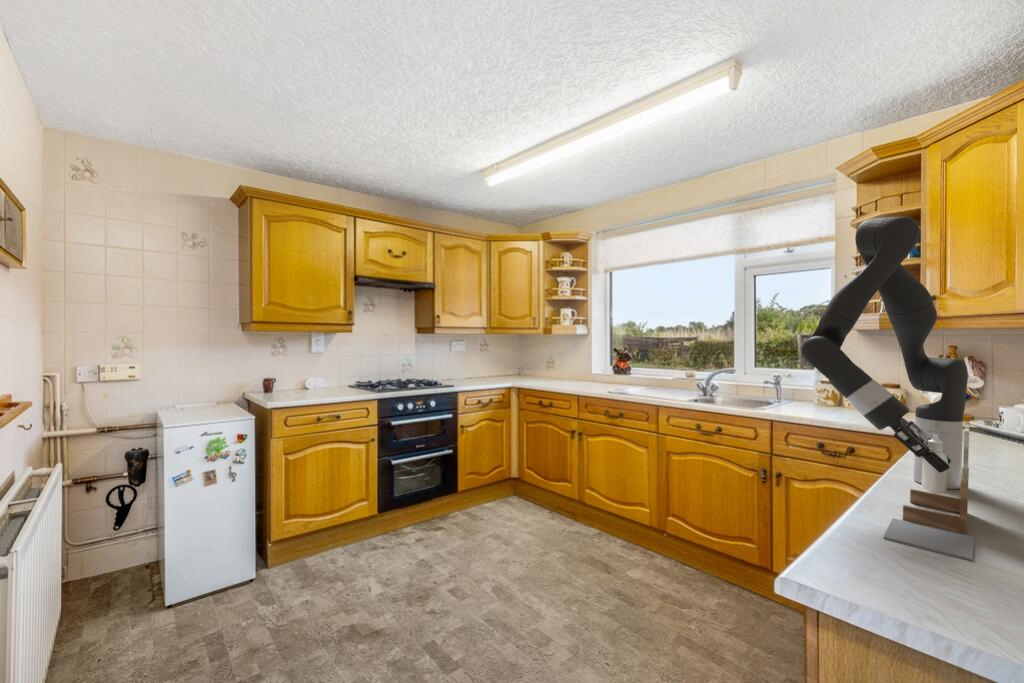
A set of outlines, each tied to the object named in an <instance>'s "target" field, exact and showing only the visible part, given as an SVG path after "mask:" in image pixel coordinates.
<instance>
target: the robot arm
mask: <svg viewBox="0 0 1024 683" xmlns="http://www.w3.org/2000/svg"><path fill="white" fill-rule="evenodd" d="M920 234H921V229H920V224H919V223H918V221H917V220H916V219H914V218H913V217H910V216H889V217H888V216H887V217H876V218H875V217H874V218H869V219H866V220H864V221H863V222H861V223H860V224H859V226H858V227H857V229H856V231H855V239H854V240H855V245H856V249H857V251H858V253H859V255H860V257H861V259H862V260H863V262H864V264H865V268H863V269H862V270H861V272H859V273H858V274H857V275H856V276H855V277H853V278H852V279H851V280H850V281H847V283H845V284H844V285H843V286H842V287H841V288H840V289H839V290H838V291H837V292H836V293H835V294H834V295H833V296H832V298H831V300H829V303H828V304H827V306H826V307H825V310H824V311H823V313H822V315H821V316H820V319H819V322H818V326H816V328H815V330H814V332H813V333H812V335H811V336H810V337H809V338H808V339H806V340H805V341H803V344H802V345H801V356H802V359H803V361H804V362H805V364H807V365H808V366H810V367H812V368H815V369H816V370H817V371H818V372H819V373H821V374H822V375H823V376H824V377H825V378H826V379H827V380H828V381H829V383H830V384H831V386H832V387H834V389H835V390H836V391H837V392H839V393H840V395H842V396H843V397H844V398H845V399H846V400H847V402H849V403H850V405H851V406H852V407H853V408H854V409H855V410H856V411H857V412H858V413H860V415H862V417H863V418H865V419H866V420H867V421H868V422H869V423H870V424H872V425H873V426H874V427H875V428H876V429H877V430H879V431H882V430H884V429H886V428H888V427H889V428H890V429H891V430H892V431H893V432H894V433H893V437H894V438H895V439H896V440H898V441H899V442H900V443H901V444H902V445H904V446H905V447H906V448H907V449H908V450H910V452H912V454H914V458H913V460H914V461H913V462H914V463H913V481H915V482H917V483H918V484H921V485H922V464H923V458H924V457H925V458H924V459H925V460H926V461H927V462H928V463H929V464H930V465H932V466H933V467H934V468H935V469H936V470H937V471H938V472H944V471H945V470H947V469H948V475H947V490H948V489H949V490H960V488H961V475H962V467H963V444H964V431H963V430H964V413H965V408H966V398H967V388H968V381H969V380H968V378H969V372H968V367H967V365H966V363H965V362H964V361H963V360H962V359H960V358H951V357H947V358H946V357H929V356H928V355H927V354H926V351H925V349H924V345H925V342H926V340H927V338H928V336H929V335H930V333H931V331H932V330H933V329H934V327H935V325H936V322H937V319H938V313H937V309H936V306H935V302H934V301H933V298H932V295H931V293H930V291H929V290H928V289H927V288H926V287H925V285H924V284H923V283H921V282H920V280H918V278H916V277H915V276H914V275H912V273H910V272H909V271H908V270H907V269H906V268H905V267H904V266H903V264H902V263H903V261H905V259H906V258H907V257H908V256H909V254H910V253H912V251H913V250H914V248H915V247H916V245H917V243H918V241H919V239H920ZM877 292H878V293H879V295H880V298H881V300H882V303H883V306H884V309H885V312H886V315H887V317H888V320H889V322H890V324H891V327H892V329H893V331H894V334H895V337H896V338H897V341H898V345H899V348H900V350H901V355H902V359H903V363H904V368H905V370H906V374H907V378H908V380H909V383H910V385H911V386H912V387H913V389H915V390H918V391H921V392H926V393H939V394H941V397H940V399H939V400H937V401H935V402H932V403H926V404H922V405H917V406H916V407H915V418H914V419H915V420H914V421H913V420H909V421H908V420H907V419H905V418H903V417H905V416H906V415H907V414H908V413H909V412H910V409H909V408H908V406H906V405H905V404H904V403H903V402H901V400H899V399H898V398H897V397H896V396H895V395H894V394H893V393H891V391H889V390H888V389H887V388H885V387H884V386H883V385H882V384H881V383H879V382H877V381H876V380H875V379H873V378H872V377H871V376H870V375H869V374H868V373H866V372H865V371H864V370H863V369H862V368H861V367H859V366H858V365H857V364H855V363H854V362H853V361H852V360H851V359H850V357H849V356H848V355H847V354H846V353H845V352H844V351H843V350H842V349H841V348H842V346H843V344H844V342H845V340H846V337H847V336H848V335H849V333H850V332H851V330H852V329H853V328H854V326H855V325H856V324H857V321H859V318H860V317H861V316H862V314H863V312H864V310H865V308H866V307H867V305H868V304H869V303H870V301H871V300H872V298H873V297H874V296H875V294H876V293H877ZM933 435H938V438H939V440H940V441H942V442H943V453H944V454H945V455H946V457H947V459H948V464H947V463H946V462H945V461H944V460H943V459H941V458H940V457H939V456H938V455H937V454H936V453H935V452H934V451H933V449H931V448H930V447H929V446H928V440H931V439H932V438H933Z"/></svg>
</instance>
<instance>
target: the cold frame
mask: <svg viewBox="0 0 1024 683" xmlns="http://www.w3.org/2000/svg"><path fill="white" fill-rule="evenodd" d="M963 430H964V431H963V458H962V474H961V488H959V490H960V491H959V492H960V493H959V494H960V495H959V496H960V497H957V496H952V495H947V494H937V493H932V492H930V491H925V490H919V489H913V488H910V492H909V493H910V494H909V495H910V496H909V502H911V503H910V504H915V505H919V504H920V506H924V505H926V507H929V506H931V507H930V508H934V507H936V508H935V509H939V508H941V509H940V510H944V509H945V511H949V510H950V512H954V511H955V512H954V513H959V512H960V513H959V515H953V514H950V513H946V512H945V513H944V512H941V511H936V510H931V509H926V508H921V507H916V506H912V505H907V504H903V506H902V520H903V521H908V522H912V523H917V524H921V525H925V526H930V527H934V528H939V529H943V530H947V531H948V530H949V531H952V532H956V533H957V532H958V533H961V534H965V535H967V529H968V525H967V524H968V510H969V509H968V505H969V475H970V473H969V472H970V471H969V470H970V468H969V452H970V451H969V448H970V421H965V424H964V429H963Z"/></svg>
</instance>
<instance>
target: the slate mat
mask: <svg viewBox="0 0 1024 683" xmlns="http://www.w3.org/2000/svg"><path fill="white" fill-rule="evenodd" d="M883 539H884V540H888V541H892V542H896V543H899V544H904V545H907V546H910V547H915V548H919V549H924V550H927V551H931V552H936V553H939V554H943V555H947V556H952V557H954V558H955V557H956V558H958V559H963V560H966V561H969V562H970V561H971V562H974V542H975V541H974V536H973V535H970V534H962V533H957V532H953V531H948V530H944V529H940V528H935V527H931V526H926V525H922V524H918V523H913V522H909V521H904V520H903V519H899V518H894V517H892V519H891V521H890V523H889V525H888V528H886V531H885V533H884V535H883Z"/></svg>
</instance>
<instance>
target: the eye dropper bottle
mask: <svg viewBox="0 0 1024 683" xmlns="http://www.w3.org/2000/svg"><path fill="white" fill-rule="evenodd" d="M928 446H929V447H930V448H931V449H933V451H934V452H935V453H936V454H937V455H938V456H939V457H940V458H941V459H943V460H944V461H945V462H946V463H947V464H948V459H947V457H946V455H945V454H944V453H943V442H942V441H940V440H939V438H938V435H933V438H932V439H931V440H928ZM924 458H925V457H924ZM924 458H923V464H922V484H921V486H922V489H923V490H924V491H925V490H926V492H931V493H936V494H941V495H947V494H948V489H947V475H948V469H947V470H945V471H944V472H938V471H937V470H936V469H935V468H934V467H933V466H932V465H930V464H929V463H928V462H927V461H926V460H925V459H924Z"/></svg>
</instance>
